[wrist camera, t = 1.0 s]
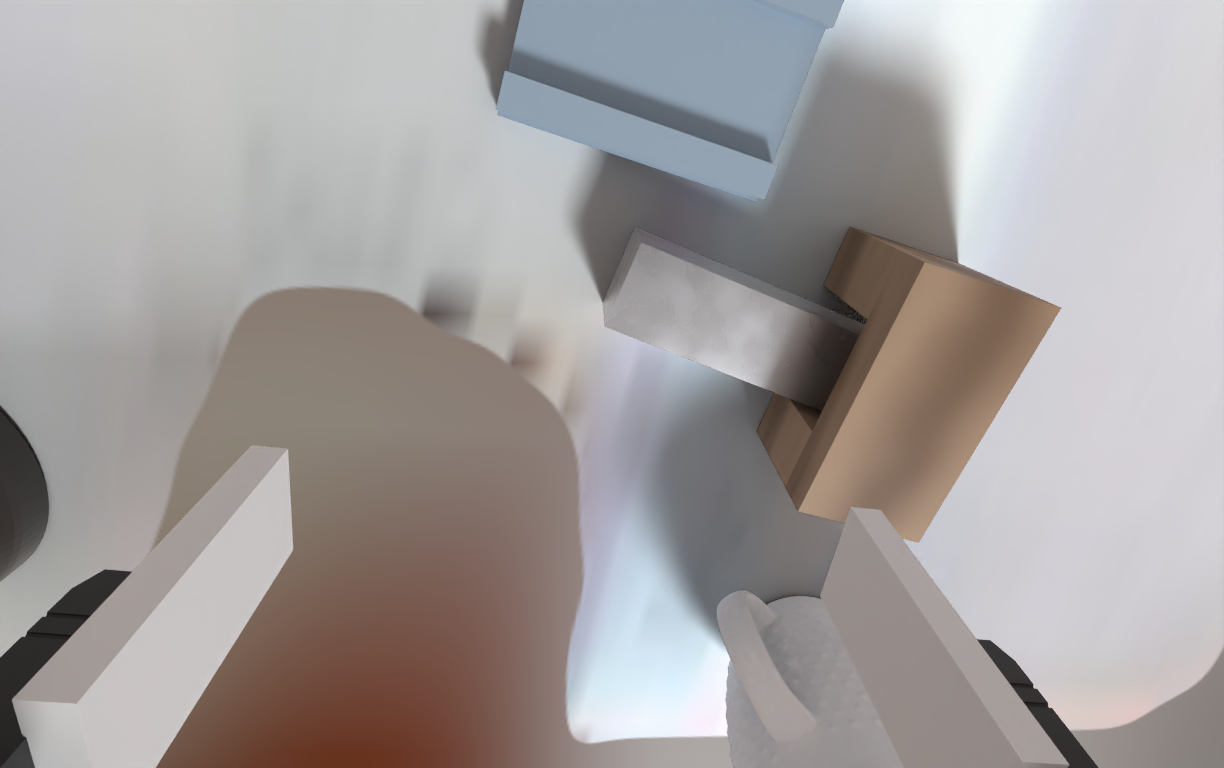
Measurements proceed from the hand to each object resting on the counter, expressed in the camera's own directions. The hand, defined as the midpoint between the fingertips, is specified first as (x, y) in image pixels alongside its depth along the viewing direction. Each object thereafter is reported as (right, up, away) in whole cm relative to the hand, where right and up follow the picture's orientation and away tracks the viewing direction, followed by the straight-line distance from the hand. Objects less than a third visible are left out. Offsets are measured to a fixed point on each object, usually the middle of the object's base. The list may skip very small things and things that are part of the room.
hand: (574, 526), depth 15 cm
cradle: (+3, +18, +12) cm, 22 cm away
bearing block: (+13, +5, +18) cm, 23 cm away
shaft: (+8, +7, +18) cm, 21 cm away
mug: (+12, -12, +26) cm, 31 cm away
